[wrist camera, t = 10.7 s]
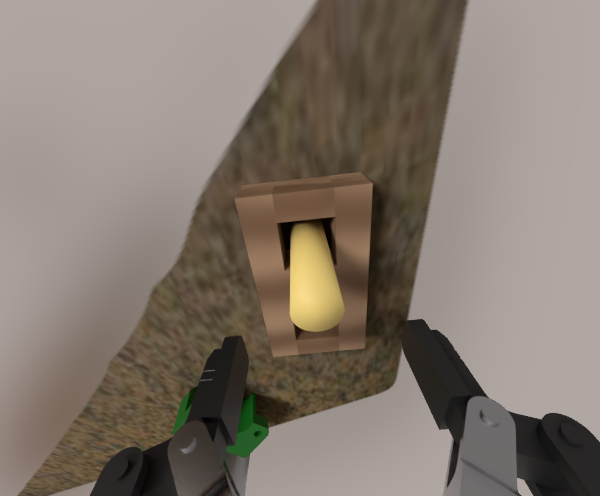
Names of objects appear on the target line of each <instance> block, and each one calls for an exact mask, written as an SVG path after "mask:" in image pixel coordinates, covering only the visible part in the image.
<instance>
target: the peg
mask: <svg viewBox="0 0 600 496" xmlns="http://www.w3.org/2000/svg"><path fill="white" fill-rule="evenodd" d="M344 313H345V308H344V303H343V300H342V296H341V292H340V288H339V284H338V281H337V277H336V273H335V269H334V265H333V261H332V258H331V254H330V250H329V246H328V242H327V239H326V235H325V231H324V227H323V223H322V220H321V219H320V218H319V219H309V220H300V221H292V222H291V246H290V317H291V320H292V321H293V323H294V324H295V325H296V326H298V327H299V328H301V329H303V330H306V331H312V332H319V331H325V330H328V329H331V328H333V327H334V326H336V325H337V324H338V323H339V322H340V321H341V320H342V318H343V316H344Z"/></svg>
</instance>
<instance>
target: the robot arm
mask: <svg viewBox="0 0 600 496" xmlns="http://www.w3.org/2000/svg"><path fill="white" fill-rule="evenodd" d="M402 347H403V351H404V354H405V357H406V359H407V361H408V363H409V365H410V367H411V369H412V372H413V374H414V376H415V378H416V380H417V383H418V385H419V387H420V389H421V391H422V393H423V395H424V398H425V400H426V402H427V404H428V406H429V408H430V411H431V413H432V415H433V417H434V419H435V421H436V424H437V426H438V428H439V430H441V429H449V431H450V432H451V435H452V437H453V438H452V443H451V449H450V456H449V462H448V469H447V475H446V482H445V487H444V492H443V496H521V495H520V494H519V493H518V489H517V478H520V479H523V480H525V482H526V484H527V485H528V487H529V489H530V491H531V492H532V494H533V495H534V496H600V442H599V441H598V440H597V439H596V437H595V436H594V435H593V434H592V433H591V432H590V431H589V430H588V429H587V428H585V427H584V426H583V425H582V424H580V423H578V422H577V421H575V420H574V419H572V418H570V417H567V416H565V415H562V414H558V413H549V414H546V415H545V416H544V417H543V418H542V420H541V419H537V418H533V417H528V416H524V415H519V414H516V413H512V412H509V411H507V410H506V409H505V408H504V407H503V406H502V405H500V404H499V403H497V402H496V401H494V400H492V399H490V398H489V397H488V396H487V395H486V394H485V393H484V391H483V390H482V389H481V387H480V385H479V384H478V382H477V381H476V380H475V378H474V377H473V375H472V374H471V373H470V371H469V369H468V368H467V366H466V365H465V363H464V362H463V361H462V360H461V359H460V356H459V355H458V353H457V352H456V351H455V350H454V347H453V346H452V344H451V343H450V342H449V340H448V339H447V338H446V337H445V336H444V335H443V334H441V333H440V332H439V331H438V330H430V328H429V327H428V325H427V324H426V322H425V321H424V320H423V319H418V320H408V321H406V322H405V326H404V333H403V339H402ZM248 365H249V360H248V354H247V351H246V348H245V344H244V341H243V338H242V336H230V337H225V339H224V341H223V345H222V348H221V349H215V350H214V351H213V352H212V354H211V355H210V356H209V358H208V359H207V361H206V364H205V367H204V370H203V371H204V372H203V373H202V376H201V379H200V382H199V385H198V388H197V391H196V394H195V397H194V400H193V403H192V406H191V408H190V411H189V414H188V417H187V420H186V422H185V423H184V425H183V426H181V427H180V428H179V429H178V430H177V431H176V432H175V434H174V435H173V437H172V438H170V439H169V440H167V441H165V442H163V443H161V444H158V445H156V446H154V447H152V448H150V449H147V450H145V451H143V452H142V451H141V450H140V449H139V448H137V447H129V448H126V449H124V450H122V451H120V452H119V453H117V454H116V455H115V456H114V457H113V458H112V459H111V460H110V461H109V462H108V463H107V464H106V466H105V467H104V469H103V470H102V472H101V474H100V476H99V478H98V480H97V482H96V484H95V486H94V488H93V490H92V492H91V494H90V496H245V489H246V480H247V471H248V465H249V457H250V454H249V455H248V456H247V457H246V458H243V457H240V456H237V455H234V454H231V453H228V452H226V449H227V446H235V444H236V438H237V432H238V426H239V420H240V414H241V408H242V402H243V396H244V390H245V384H246V379H247V373H248Z"/></svg>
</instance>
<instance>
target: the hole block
mask: <svg viewBox="0 0 600 496" xmlns="http://www.w3.org/2000/svg"><path fill="white" fill-rule="evenodd" d="M372 189H373V183H372V182H371V181H370V180H369V179H368V178H366V177H365V176H364V175H363V174H362V173H361V172H357V173H348V174H339V175H330V176H321V177H312V178H303V179H294V180H285V181H277V182H268V183H259V184H250V185H243V186H242V187H241V189H240V191H239V192H238V194H237V195H236V197H235V203H236V207H237V211H238V215H239V220H240V224H241V228H242V232H243V236H244V240H245V244H246V248H247V252H248V256H249V260H250V264H251V268H252V272H253V276H254V280H255V284H256V288H257V292H258V296H259V300H260V304H261V308H262V312H263V316H264V320H265V324H266V328H267V332H268V336H269V340H270V345H271V349H272V353H273V357H275V356H286V355H297V354H308V353H318V352H329V351H340V350H351V349H362V348H365V337H366V316H367V295H368V274H369V253H370V231H371V210H372ZM328 217H330V231H331V245H328V246H329V250H330V254H331V258H332V261H333V265H334V269H335V273H336V277H337V281H338V284H339V288H340V292H341V296H342V300H343V303H344V308H345V313H344V316H343V318H342V320H341V321H340V322H339V323H338V324H337V325H336V326H334V327H333V328H331V329H328V330H325V331H319V332H312V331H306V330H303V329H301V328H299V327H298V326H296V325H295V324H294V323H293V321H292V320H291V317H290V250H285V243H284V237H283V231H282V224H281V222H291V221H300V220H309V219H319V218H328Z"/></svg>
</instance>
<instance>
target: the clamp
mask: <svg viewBox="0 0 600 496" xmlns="http://www.w3.org/2000/svg"><path fill="white" fill-rule="evenodd" d="M197 388H198V387H195V388H193V389H191V391H190V392H189V393H188V394H187V395H186V396H185V397H184V398H183V400H182V401H181V404H180V407H179V411H178V414H177V418H176V421H175V425H174V428H173V432H172V434H175V432H176V431H177V430H178V429H179V428H180V427H181V426H183V425H184V423H185V422H186V420H187V417H188V414H189V411H190V408H191V406H192V403H193V400H194V397H195V394H196V391H197ZM268 433H269V431H268V420H267V419H266V418H265V417H263V416H260V415H258V414H256V394H255V393H252V394H251V395H250V396H249V397H248V398H247V399H245V400H243V402H242V408H241V414H240V420H239V426H238V432H237V438H236V444H235V446H227V449H226V452H228V453H231V454H234V455H237V456H240V457H243V458H246V457H247V456H248V455H249V454H250V453H251V452H252V451H253V450H254V449H255V448H256V447H257V446H258V445H259V444H260V443H261V442H262V441H263V440H264V439H265V438H266V437H267V436H268Z"/></svg>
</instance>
